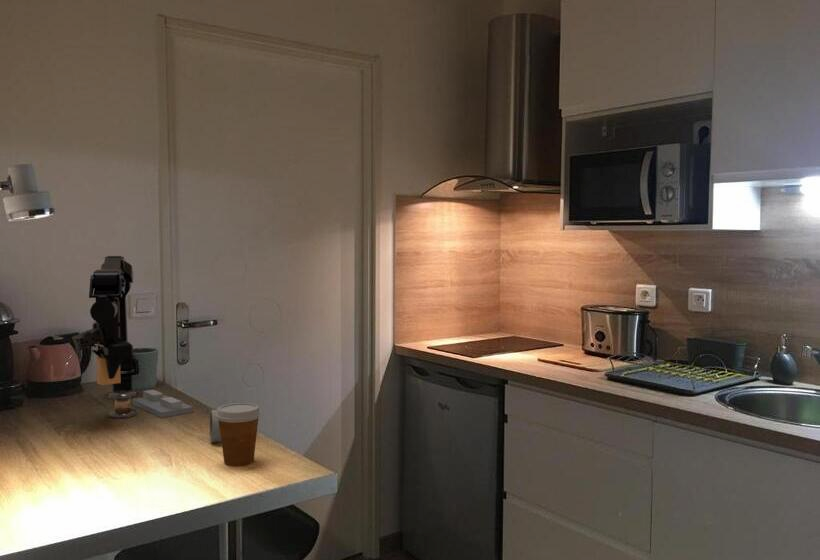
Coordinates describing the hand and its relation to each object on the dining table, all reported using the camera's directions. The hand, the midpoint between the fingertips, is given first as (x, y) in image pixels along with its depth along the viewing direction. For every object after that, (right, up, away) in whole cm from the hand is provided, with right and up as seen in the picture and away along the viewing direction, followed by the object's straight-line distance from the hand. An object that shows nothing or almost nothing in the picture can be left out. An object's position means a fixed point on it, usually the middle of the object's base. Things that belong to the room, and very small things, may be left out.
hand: (109, 377), depth 184 cm
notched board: (+9, -11, +15) cm, 20 cm away
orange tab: (0, -2, 0) cm, 2 cm away
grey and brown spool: (+1, -11, +7) cm, 13 cm away
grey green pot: (-7, -9, +42) cm, 44 cm away
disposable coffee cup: (+42, -14, -31) cm, 54 cm away
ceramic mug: (+34, -13, -14) cm, 39 cm away
